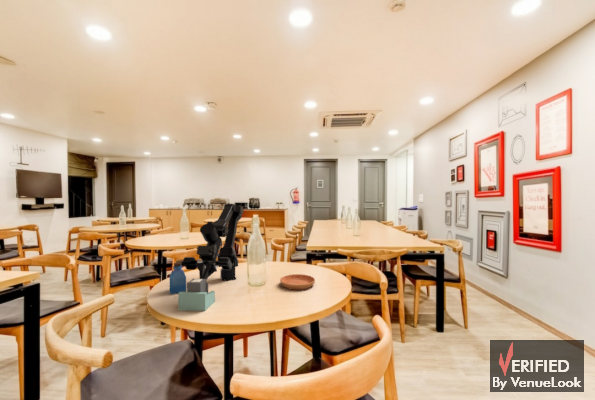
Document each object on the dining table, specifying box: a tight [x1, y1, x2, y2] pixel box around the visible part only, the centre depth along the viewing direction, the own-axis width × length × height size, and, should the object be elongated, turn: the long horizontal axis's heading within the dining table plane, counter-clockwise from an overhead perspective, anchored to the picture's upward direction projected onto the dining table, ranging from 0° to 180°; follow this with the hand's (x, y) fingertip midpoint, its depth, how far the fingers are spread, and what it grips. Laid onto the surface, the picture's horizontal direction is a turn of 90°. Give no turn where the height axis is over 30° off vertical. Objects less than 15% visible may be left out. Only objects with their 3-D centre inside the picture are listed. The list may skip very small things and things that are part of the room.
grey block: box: [186, 278, 209, 294], centre depth 95 cm, size 6×6×9 cm
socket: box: [177, 290, 216, 312], centre depth 95 cm, size 9×10×6 cm
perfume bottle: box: [169, 261, 187, 295], centre depth 111 cm, size 6×6×12 cm
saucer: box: [279, 273, 316, 291], centre depth 119 cm, size 16×16×3 cm
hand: (201, 283), depth 98 cm, fingers closed, pressing on grey block
